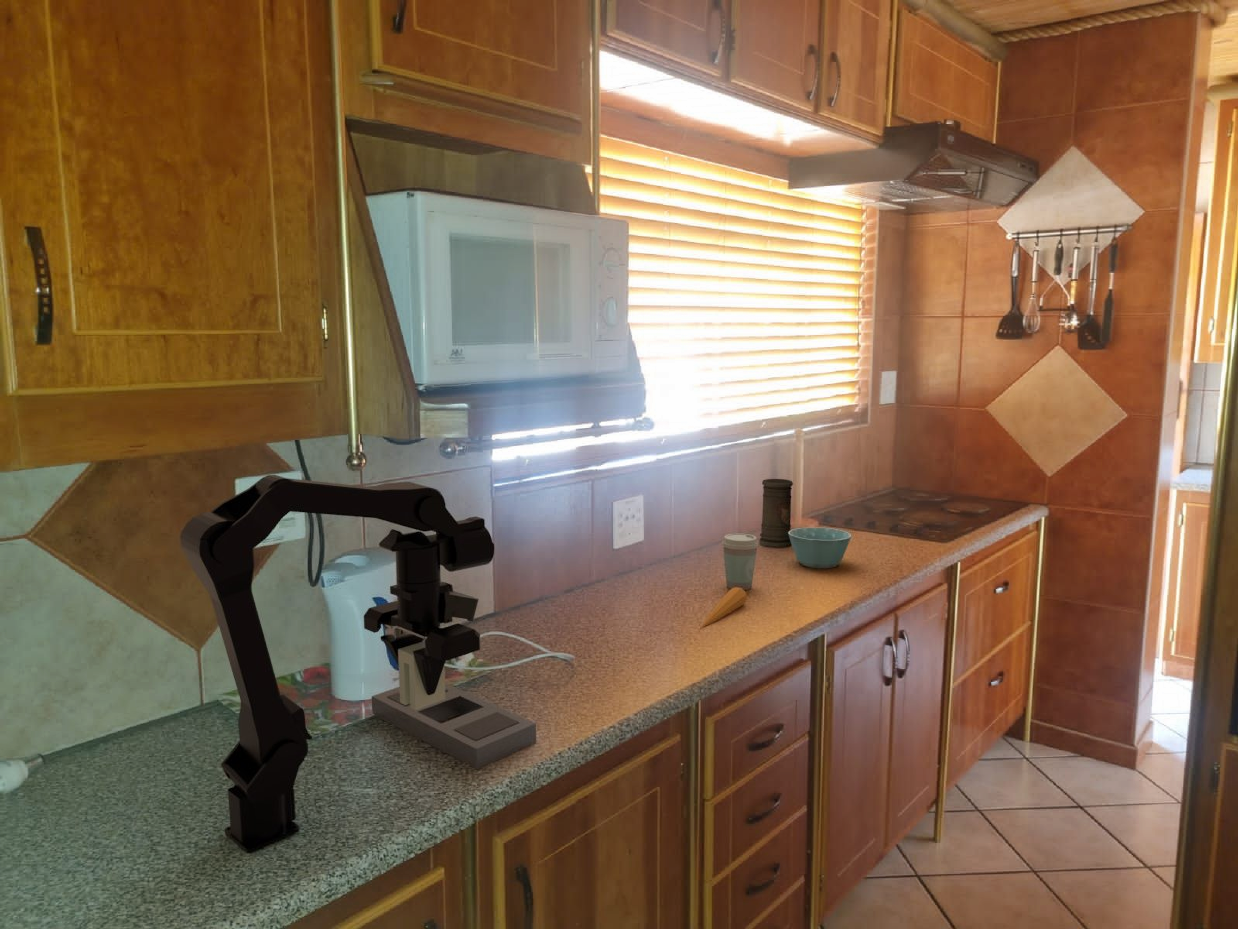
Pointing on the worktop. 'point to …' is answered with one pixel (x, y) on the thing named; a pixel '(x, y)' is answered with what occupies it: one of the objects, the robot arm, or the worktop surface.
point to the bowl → (819, 546)
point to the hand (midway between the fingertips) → (422, 690)
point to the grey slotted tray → (459, 725)
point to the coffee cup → (739, 559)
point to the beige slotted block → (416, 680)
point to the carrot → (727, 605)
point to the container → (776, 513)
